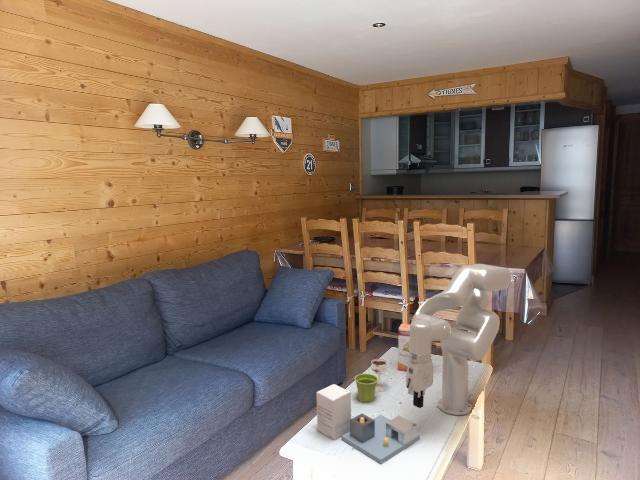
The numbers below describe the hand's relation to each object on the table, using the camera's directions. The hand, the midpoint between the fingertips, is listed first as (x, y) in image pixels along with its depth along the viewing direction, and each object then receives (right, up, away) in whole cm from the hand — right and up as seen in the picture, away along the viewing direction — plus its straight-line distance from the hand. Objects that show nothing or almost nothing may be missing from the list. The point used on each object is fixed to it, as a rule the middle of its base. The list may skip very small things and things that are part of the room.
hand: (418, 406), depth 163 cm
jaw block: (-20, -9, -4) cm, 22 cm away
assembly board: (-14, -10, -4) cm, 18 cm away
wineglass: (-10, -5, +32) cm, 34 cm away
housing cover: (-7, -9, -5) cm, 12 cm away
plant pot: (-16, -6, +24) cm, 30 cm away
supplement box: (-30, -10, +2) cm, 31 cm away
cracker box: (+9, -1, +49) cm, 50 cm away
